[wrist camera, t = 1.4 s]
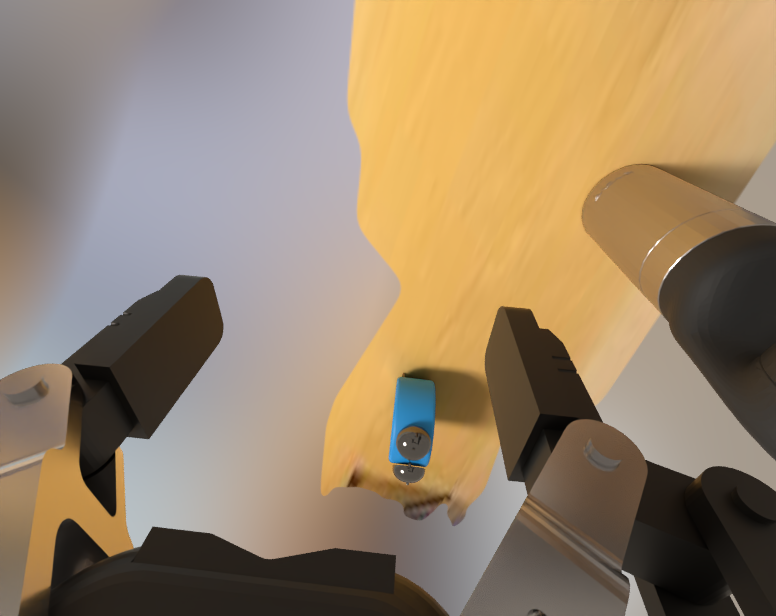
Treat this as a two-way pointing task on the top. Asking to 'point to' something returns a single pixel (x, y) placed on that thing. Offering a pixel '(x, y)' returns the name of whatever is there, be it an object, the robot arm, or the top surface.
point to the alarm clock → (412, 428)
